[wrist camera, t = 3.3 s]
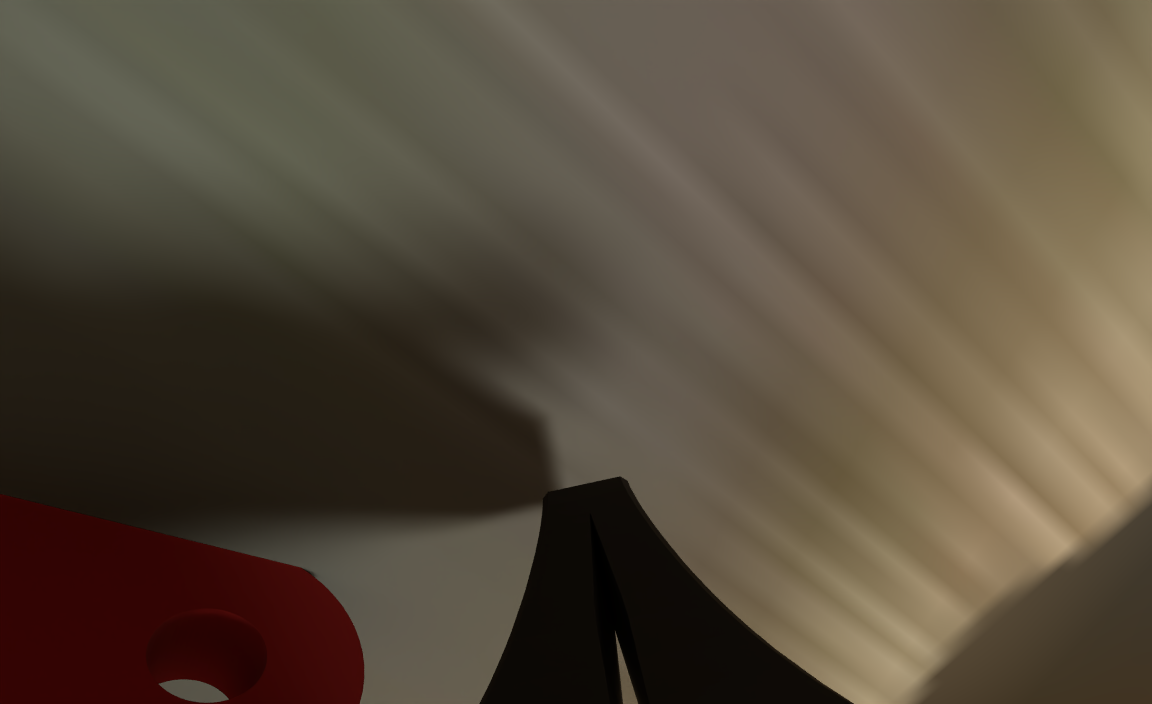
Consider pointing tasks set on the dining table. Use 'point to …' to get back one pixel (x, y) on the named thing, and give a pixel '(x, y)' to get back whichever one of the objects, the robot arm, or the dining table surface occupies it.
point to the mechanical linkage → (160, 618)
